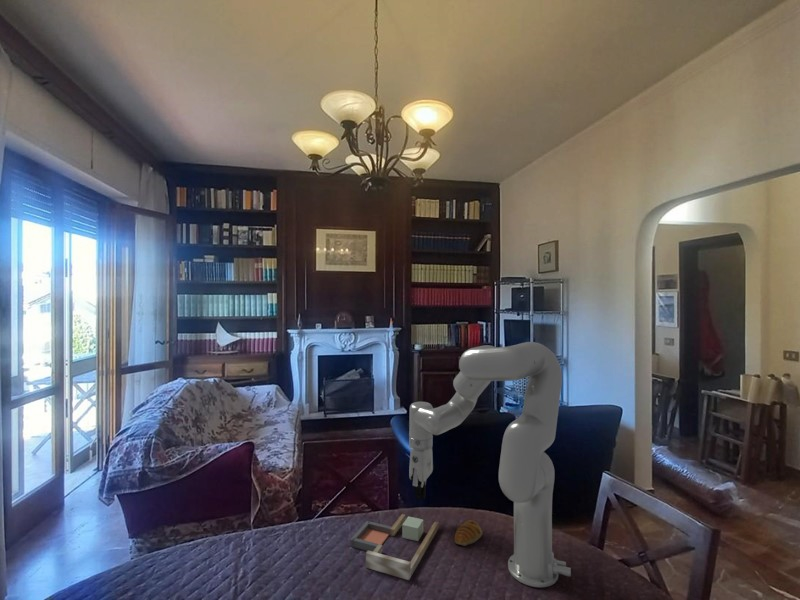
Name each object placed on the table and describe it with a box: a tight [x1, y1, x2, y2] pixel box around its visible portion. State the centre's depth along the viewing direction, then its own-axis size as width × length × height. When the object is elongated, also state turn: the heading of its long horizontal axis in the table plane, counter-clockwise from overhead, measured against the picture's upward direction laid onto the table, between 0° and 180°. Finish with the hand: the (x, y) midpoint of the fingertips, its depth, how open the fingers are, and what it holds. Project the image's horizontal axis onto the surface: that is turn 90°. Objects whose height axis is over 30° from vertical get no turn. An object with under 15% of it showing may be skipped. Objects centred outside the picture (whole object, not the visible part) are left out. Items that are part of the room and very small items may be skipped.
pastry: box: [454, 519, 484, 547], centre depth 121 cm, size 9×7×4 cm
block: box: [401, 515, 424, 542], centre depth 123 cm, size 5×5×4 cm
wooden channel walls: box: [365, 513, 440, 581], centre depth 118 cm, size 12×25×4 cm, turn 157°
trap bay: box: [349, 520, 392, 552], centre depth 121 cm, size 9×10×2 cm
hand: (420, 497), depth 131 cm, fingers closed
